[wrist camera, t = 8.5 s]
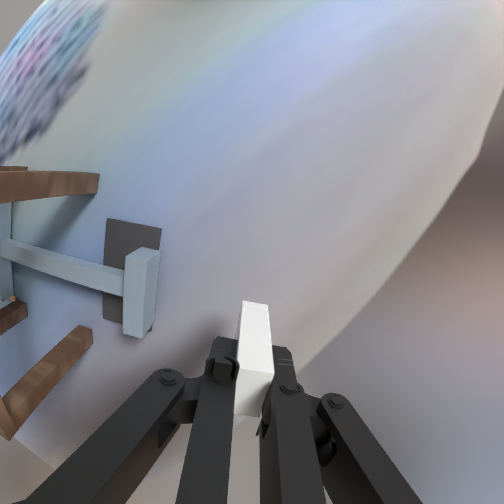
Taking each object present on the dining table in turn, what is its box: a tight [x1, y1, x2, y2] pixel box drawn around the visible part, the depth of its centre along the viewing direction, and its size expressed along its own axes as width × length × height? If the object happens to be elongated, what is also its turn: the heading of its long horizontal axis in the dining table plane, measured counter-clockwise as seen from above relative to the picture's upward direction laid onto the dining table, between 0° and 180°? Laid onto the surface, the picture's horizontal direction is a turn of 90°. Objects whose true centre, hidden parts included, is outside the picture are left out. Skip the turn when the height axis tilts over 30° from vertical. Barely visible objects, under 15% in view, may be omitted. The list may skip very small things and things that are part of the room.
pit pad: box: [103, 218, 162, 332], centre depth 22 cm, size 9×5×1 cm, turn 169°
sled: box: [0, 202, 161, 339], centre depth 19 cm, size 11×31×3 cm, turn 79°
